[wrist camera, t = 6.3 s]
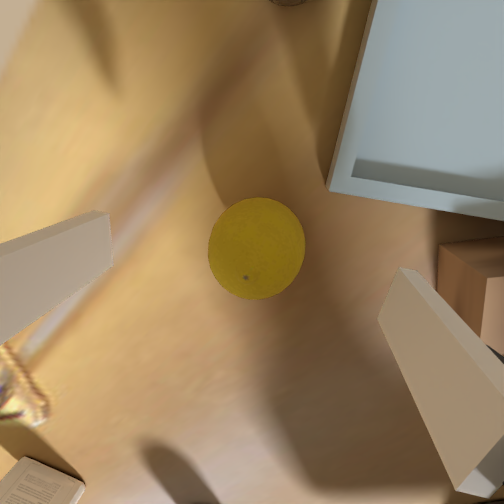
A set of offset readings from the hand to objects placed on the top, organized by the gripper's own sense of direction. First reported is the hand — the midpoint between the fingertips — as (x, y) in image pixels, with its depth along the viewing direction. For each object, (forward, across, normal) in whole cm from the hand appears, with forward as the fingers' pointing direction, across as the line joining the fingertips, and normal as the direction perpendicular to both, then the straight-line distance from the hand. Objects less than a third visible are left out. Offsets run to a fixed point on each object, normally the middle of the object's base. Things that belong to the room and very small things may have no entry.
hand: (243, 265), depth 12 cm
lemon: (+8, 0, 0) cm, 8 cm away
